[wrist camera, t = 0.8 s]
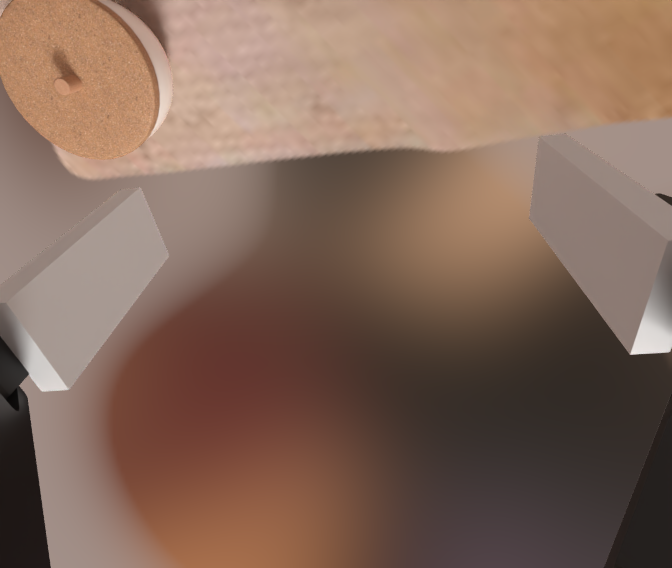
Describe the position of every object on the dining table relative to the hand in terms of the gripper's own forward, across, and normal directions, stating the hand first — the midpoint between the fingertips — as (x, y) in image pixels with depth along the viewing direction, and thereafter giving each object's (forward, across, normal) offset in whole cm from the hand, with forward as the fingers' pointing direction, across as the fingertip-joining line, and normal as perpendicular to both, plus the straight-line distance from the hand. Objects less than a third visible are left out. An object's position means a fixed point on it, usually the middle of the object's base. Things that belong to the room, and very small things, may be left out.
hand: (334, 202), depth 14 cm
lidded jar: (+25, -18, +3) cm, 31 cm away
